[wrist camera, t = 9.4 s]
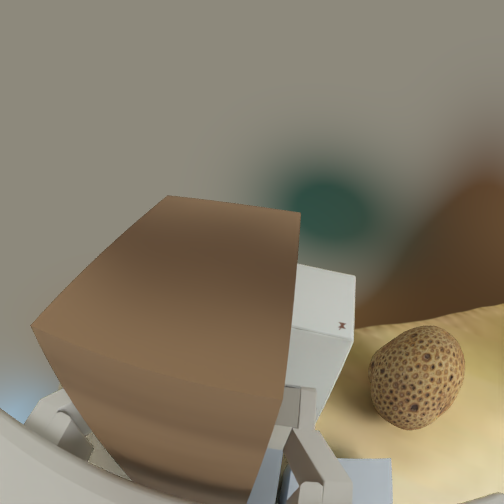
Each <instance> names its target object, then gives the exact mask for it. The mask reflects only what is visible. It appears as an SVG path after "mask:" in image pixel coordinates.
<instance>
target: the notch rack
mask: <svg viewBox="0 0 504 504" xmlns="http://www.w3.org/2000/svg"><path fill="white" fill-rule="evenodd" d="M282 456H283V450H278V449H272V448H267V449H266V452H265V455H264V458H263V461H262V464H261V466H260V469H259V472H258V475H257V477H256V480H255V483H254V485H253V488H252V491H251V493H250V496H249V498H248V501H247V504H275V500H276V495H277V488H278V482H279V476H280V469H281V463H282ZM337 459H338V461H339V462H340V464H341V465H342V467H343V468H344V470H345V471H346V473H347V474H348V476H349V477H350V479H351V480H352V482H353V497H352V504H393V494H392V467H391V458H387V459H343V458H337ZM298 487H299V485H298V483H297V481H296V479H295V476H294V474H293V472H292V470H291V468H290V466H289V464H288V465H287V467H286V468H285V470H284V474H283V480H282V487H281V493H280V499H279V504H286V501H287V499H288V498H289V497H290V496H291V495H292V494H293V493H294V492H295V491H296V490H297V488H298Z"/></svg>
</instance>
